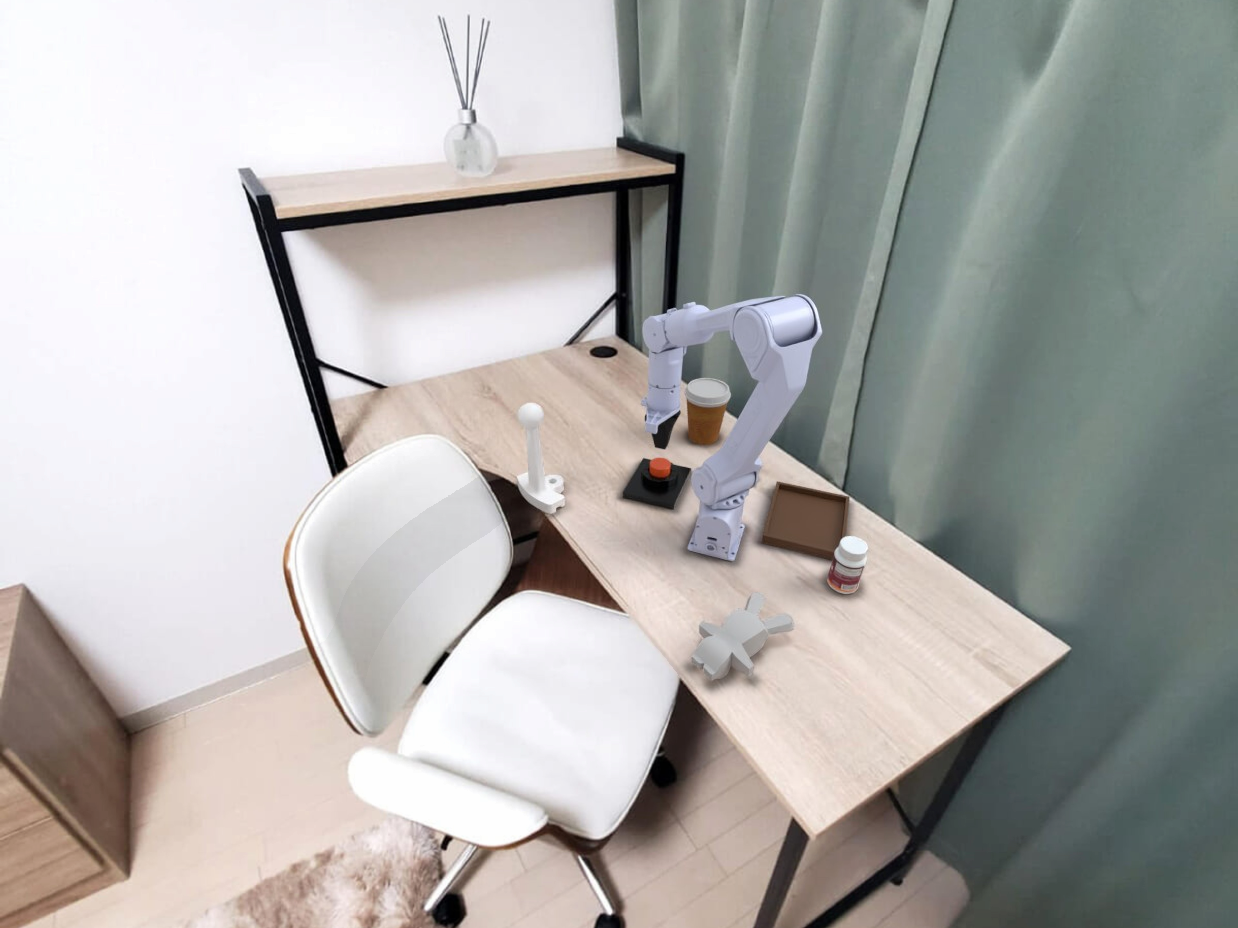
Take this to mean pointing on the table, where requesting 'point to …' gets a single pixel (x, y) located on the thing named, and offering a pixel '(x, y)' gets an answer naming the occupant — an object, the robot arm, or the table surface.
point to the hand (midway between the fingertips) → (661, 446)
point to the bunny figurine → (737, 639)
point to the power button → (660, 467)
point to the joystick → (538, 465)
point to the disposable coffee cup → (706, 408)
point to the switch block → (657, 485)
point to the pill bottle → (848, 565)
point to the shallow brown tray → (806, 520)
